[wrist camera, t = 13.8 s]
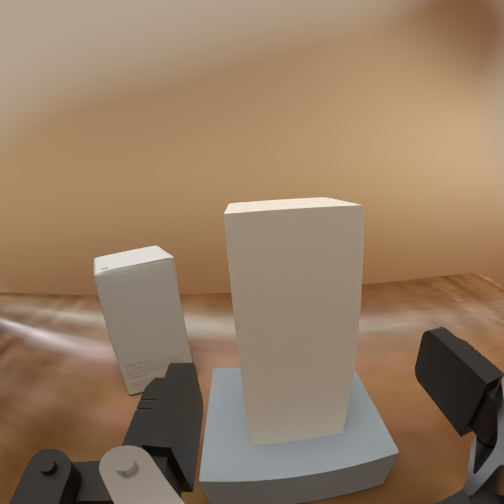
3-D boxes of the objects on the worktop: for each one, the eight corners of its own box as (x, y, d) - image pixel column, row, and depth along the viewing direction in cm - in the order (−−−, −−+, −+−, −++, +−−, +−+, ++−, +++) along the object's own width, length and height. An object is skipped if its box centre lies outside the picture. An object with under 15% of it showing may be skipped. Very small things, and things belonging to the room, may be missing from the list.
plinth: (211, 508, 12) (198, 481, 11) (220, 402, 23) (213, 368, 22) (382, 483, 12) (399, 452, 11) (342, 389, 23) (346, 354, 22)
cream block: (250, 445, 14) (223, 213, 11) (247, 389, 19) (229, 203, 16) (343, 432, 14) (362, 205, 11) (322, 380, 19) (324, 197, 16)
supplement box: (198, 377, 27) (176, 256, 24) (128, 397, 23) (90, 273, 20) (176, 345, 33) (158, 243, 30) (119, 360, 30) (92, 256, 27)
